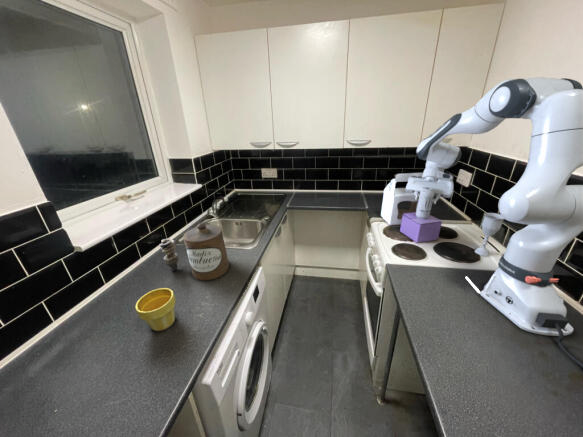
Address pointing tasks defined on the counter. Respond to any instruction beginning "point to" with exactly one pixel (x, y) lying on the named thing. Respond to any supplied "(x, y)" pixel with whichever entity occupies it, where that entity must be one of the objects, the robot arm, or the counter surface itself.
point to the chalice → (489, 230)
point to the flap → (427, 220)
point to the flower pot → (157, 308)
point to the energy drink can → (425, 202)
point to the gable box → (397, 199)
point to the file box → (419, 229)
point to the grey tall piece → (169, 253)
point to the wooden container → (206, 251)
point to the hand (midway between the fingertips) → (425, 201)
